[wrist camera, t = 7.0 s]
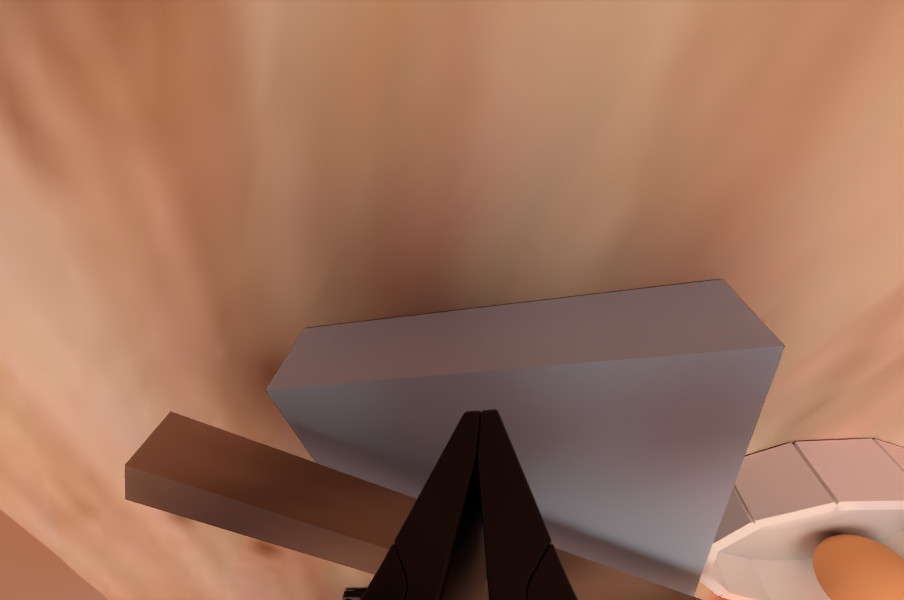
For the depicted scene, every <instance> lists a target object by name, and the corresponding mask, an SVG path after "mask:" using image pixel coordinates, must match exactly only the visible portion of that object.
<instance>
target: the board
mask: <svg viewBox="0 0 904 600" xmlns="http://www.w3.org/2000/svg"><path fill="white" fill-rule="evenodd" d="M784 347H785V345H784V344H783V343H782V342H781V341H780V340H779V339H778V338H777V337H776V336H775V335H774V334H773V333H772V331H771V330H770V329H769V328H768V327H767V326H766V325H765V324H764V323H763V322H762V321H761V320H760V319H759V318H758V316H757V315H756V314H755V313H754V312H753V311H752V310H751V309H750V308H749V307H748V306H747V305H746V304H745V302H744V301H743V300H742V299H741V298H740V297H739V296H738V295H737V294H736V293H735V292H734V291H733V290H732V289H731V287H730V286H729V285H728V284H727V283H726V282H725V281H724V280H723V279H719V280H710V281H702V282H693V283H685V284H676V285H668V286H660V287H651V288H643V289H634V290H626V291H617V292H609V293H600V294H592V295H583V296H575V297H566V298H558V299H549V300H541V301H532V302H524V303H515V304H507V305H498V306H490V307H481V308H473V309H464V310H456V311H447V312H439V313H430V314H422V315H413V316H405V317H396V318H388V319H379V320H371V321H362V322H354V323H345V324H337V325H328V326H320V327H311V328H305V329H304V330H303V332H302V333H301V335H300V336H299V338H298V340H297V341H296V343H295V344H294V346H293V347H292V349H291V351H290V352H289V354H288V355H287V357H286V358H285V360H284V361H283V363H282V365H281V366H280V368H279V369H278V371H277V372H276V374H275V376H274V377H273V379H272V380H271V382H270V383H269V385H268V387H267V388H266V392H267V393H268V395H269V396H270V398H271V399H272V400H273V402H274V403H275V405H276V406H277V408H278V409H279V410H280V412H281V413H282V415H283V416H284V418H285V419H286V421H287V422H288V423H289V425H290V426H291V428H292V429H293V431H294V432H295V433H296V435H297V436H298V438H299V439H300V441H301V442H302V443H303V445H304V446H305V448H306V449H307V451H308V452H309V453H310V455H311V456H312V458H313V459H314V461H315V462H316V463H317V464H320V465H323V466H326V467H329V468H331V469H334V470H337V471H340V472H343V473H346V474H348V475H351V476H354V477H357V478H360V479H362V480H365V481H368V482H371V483H374V484H377V485H379V486H382V487H385V488H388V489H391V490H394V491H396V492H399V493H402V494H405V495H408V496H410V497H413V498H416V499H417V498H418V496H419V494H420V492H421V490H422V489H423V487H424V485H425V483H426V481H427V479H428V478H429V476H430V474H431V472H432V470H433V468H434V467H435V465H436V463H437V461H438V459H439V457H440V456H441V454H442V452H443V450H444V448H445V446H446V445H447V443H448V441H449V439H450V437H451V435H452V434H453V432H454V430H455V428H456V426H457V424H458V423H459V421H460V419H461V417H462V415H463V414H464V412H466V411H476V410H479V411H481V412H482V411H483V410H490V409H496V410H498V412H499V414H500V416H501V419H502V421H503V424H504V426H505V428H506V431H507V433H508V436H509V438H510V440H511V443H512V445H513V448H514V450H515V453H516V455H517V457H518V460H519V462H520V465H521V467H522V470H523V472H524V474H525V477H526V479H527V482H528V484H529V486H530V489H531V491H532V494H533V496H534V499H535V501H536V503H537V506H538V508H539V511H540V513H541V515H542V518H543V520H544V523H545V525H546V528H547V530H548V532H549V535H550V537H551V540H552V544H553V545H554V546H555V548H557V549H560V550H563V551H566V552H569V553H571V554H574V555H577V556H580V557H583V558H586V559H588V560H591V561H594V562H597V563H600V564H602V565H605V566H608V567H611V568H614V569H617V570H619V571H622V572H625V573H628V574H631V575H634V576H636V577H639V578H642V579H645V580H648V581H650V582H653V583H656V584H659V585H662V586H665V587H667V588H670V589H673V590H676V591H679V592H682V593H684V594H687V595H690V596H694V594H695V591H696V588H697V585H698V583H699V580H700V577H701V574H702V572H703V569H704V566H705V563H706V561H707V558H708V555H709V552H710V550H711V547H712V544H713V541H714V539H715V536H716V533H717V530H718V528H719V525H720V522H721V519H722V517H723V514H724V511H725V508H726V506H727V503H728V500H729V498H730V495H731V492H732V489H733V487H734V484H735V481H736V478H737V476H738V473H739V470H740V467H741V465H742V462H743V459H744V456H745V454H746V451H747V448H748V445H749V443H750V440H751V437H752V434H753V432H754V429H755V426H756V423H757V421H758V418H759V415H760V412H761V410H762V407H763V404H764V402H765V399H766V396H767V393H768V391H769V388H770V385H771V382H772V380H773V377H774V374H775V371H776V369H777V366H778V363H779V360H780V358H781V355H782V352H783V349H784Z"/></svg>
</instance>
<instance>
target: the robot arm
mask: <svg viewBox="0 0 904 600" xmlns="http://www.w3.org/2000/svg"><path fill="white" fill-rule="evenodd" d="M394 543H395V544H392V545H391V547H390V549H389V551H388V552H387V554H386V556H385V558H384V560H383V562H382V563H381V565H380V567H379V569H378V570H377V572H376V574H375V576H374V577H373V579H372V581H371V582H370V584H369V586H368V587H367V589H366V591H345V592H344V594H343V598H342V599H343V600H483V592H484V578H485V564H486V569H487V581H488V593H489V600H578V598H577V596H576V594H575V593H574V590H573V588H572V586H571V584H570V581H569V579H568V577H567V575H566V572H565V570H564V568H563V566H562V563H561V561H560V559H559V556H558V554H557V551H556V549H555V546H554V545H553V544H552V540H551V537H550V535H549V532H548V530H547V528H546V525H545V523H544V520H543V518H542V515H541V513H540V511H539V508H538V506H537V503H536V501H535V499H534V496H533V494H532V491H531V489H530V486H529V484H528V482H527V479H526V477H525V474H524V472H523V470H522V467H521V465H520V462H519V460H518V457H517V455H516V453H515V450H514V448H513V445H512V443H511V440H510V438H509V436H508V433H507V431H506V428H505V426H504V424H503V421H502V419H501V416H500V414H499V412H498V410H496V409H490V410H483V411H482V412H481V411H479V410H476V411H466V412H464V414H463V415H462V417H461V419H460V421H459V423H458V424H457V426H456V428H455V430H454V432H453V434H452V435H451V437H450V439H449V441H448V443H447V445H446V446H445V448H444V450H443V452H442V454H441V456H440V457H439V459H438V461H437V463H436V465H435V467H434V468H433V470H432V472H431V474H430V476H429V478H428V479H427V481H426V483H425V485H424V487H423V489H422V490H421V492H420V494H419V496H418V498H417V500H416V501H415V503H414V505H413V507H412V509H411V511H410V512H409V514H408V516H407V518H406V520H405V522H404V523H403V525H402V527H401V529H400V531H399V533H398V534H397V536H396V538H395V540H394Z"/></svg>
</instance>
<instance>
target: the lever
mask: <svg viewBox="0 0 904 600" xmlns="http://www.w3.org/2000/svg"><path fill="white" fill-rule="evenodd" d="M125 499H126V500H130V501H133V502H136V503H140V504H143V505H146V506H149V507H153V508H156V509H159V510H163V511H166V512H169V513H173V514H176V515H179V516H183V517H186V518H189V519H193V520H196V521H199V522H202V523H206V524H209V525H212V526H216V527H219V528H222V529H226V530H229V531H232V532H236V533H239V534H242V535H245V536H249V537H252V538H255V539H259V540H262V541H265V542H269V543H272V544H275V545H279V546H282V547H285V548H289V549H292V550H295V551H298V552H302V553H305V554H308V555H312V556H315V557H318V558H322V559H325V560H328V561H332V562H335V563H338V564H342V565H345V566H348V567H351V568H355V569H358V570H361V571H365V572H368V573H371V574H376V572H377V570H378V569H379V567H380V565H381V563H382V562H383V560H384V558H385V556H386V554H387V552H388V551H389V549H390V547H391V545H392V544H395V543H394V540H395V538H396V536H397V534H398V533H399V531H400V529H401V527H402V525H403V523H404V522H405V520H406V518H407V516H408V514H409V512H410V511H411V509H412V507H413V505H414V503H415V501H416V500H417V499H416V498H413V497H410V496H408V495H405V494H402V493H399V492H396V491H394V490H391V489H388V488H385V487H382V486H379V485H377V484H374V483H371V482H368V481H365V480H362V479H360V478H357V477H354V476H351V475H348V474H346V473H343V472H340V471H337V470H334V469H331V468H329V467H326V466H323V465H320V464H317V463H314V462H312V461H309V460H306V459H303V458H300V457H298V456H295V455H292V454H289V453H286V452H283V451H281V450H278V449H275V448H272V447H269V446H266V445H264V444H261V443H258V442H255V441H252V440H250V439H247V438H244V437H241V436H238V435H235V434H233V433H230V432H227V431H224V430H221V429H218V428H216V427H213V426H210V425H207V424H204V423H202V422H199V421H196V420H193V419H190V418H187V417H185V416H182V415H179V414H176V413H173V412H170V413H169V414H168V415H167V416H166V418H165V419H164V420H163V421H162V422H161V423H160V425H159V426H158V427H157V428H156V429H155V430H154V432H153V433H152V434H151V435H150V436H149V437H148V439H147V440H146V441H145V442H144V443H143V445H142V446H141V447H140V448H139V449H138V450H137V452H136V453H135V454H134V455H133V456H132V457H131V459H130V460H129V461H128V462H127V463H126V464H125ZM555 549H556V551H557V554H558V556H559V559H560V561H561V563H562V566H563V568H564V570H565V572H566V575H567V577H568V579H569V581H570V584H571V586H572V588H573V590H574V593H575V594H576V596H577V598H578V600H701V599H698V598H696V597H693V596H690V595H687V594H684V593H682V592H679V591H676V590H673V589H670V588H667V587H665V586H662V585H659V584H656V583H653V582H650V581H648V580H645V579H642V578H639V577H636V576H634V575H631V574H628V573H625V572H622V571H619V570H617V569H614V568H611V567H608V566H605V565H602V564H600V563H597V562H594V561H591V560H588V559H586V558H583V557H580V556H577V555H574V554H571V553H569V552H566V551H563V550H560V549H557V548H555ZM483 600H489V593H488V581H487V569H486V564H485V578H484V592H483Z"/></svg>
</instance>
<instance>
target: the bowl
mask: <svg viewBox="0 0 904 600" xmlns="http://www.w3.org/2000/svg"><path fill="white" fill-rule="evenodd" d="M839 534H852V535H858V536H862V537H866V538H869V539H872V540H874V541H876V542H879V543H881V544H882V545H884V546H886V547H888V548H889V549H891V550H892V551H894V552H895V553H897V554H898V555H899V556H900V557H902V558H903V559H904V448H903V447H899V446H896V445H893V444H890V443H887V442H884V441H880V440H877V439H874V440H873V439H872V438H869V439H846V440H822V441H799V442H795V443H794V445H793V444H792V443H787V444H784V445H781V446H778V447H774V448H771V449H768V450H764V451H761V452H758V453H755V454H751V455H748V456H745V457H744V459H743V462H742V465H741V467H740V470H739V473H738V476H737V478H736V481H735V484H734V487H733V489H732V492H731V495H730V498H729V500H728V503H727V506H726V508H725V511H724V514H723V517H722V519H721V522H720V525H719V528H718V530H717V533H716V536H715V539H714V541H713V544H712V547H711V550H710V552H709V555H708V558H707V561H706V563H705V566H704V569H703V572H702V574H701V577H700V581H701V582H702V583H703V584H704V585H705V586H707V587H708V588H709V589H710V590H711V591H712V592H714V593H715V594H716V595H717V596H719V597H722V598H726V599H730V600H831V599H830V598H829V597H828V595H827V594H826V593H825V591H824V590H823V589H822V587H821V586H820V584H819V582H818V580H817V578H816V575H815V572H814V568H813V555H814V552H815V549H816V547H817V546H818V545H819V543H820V542H822V541H823V540H824V539H826V538H828V537H830V536H834V535H839Z"/></svg>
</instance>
